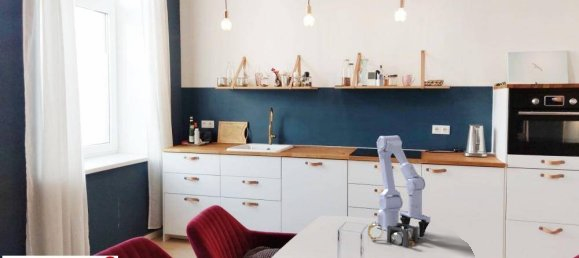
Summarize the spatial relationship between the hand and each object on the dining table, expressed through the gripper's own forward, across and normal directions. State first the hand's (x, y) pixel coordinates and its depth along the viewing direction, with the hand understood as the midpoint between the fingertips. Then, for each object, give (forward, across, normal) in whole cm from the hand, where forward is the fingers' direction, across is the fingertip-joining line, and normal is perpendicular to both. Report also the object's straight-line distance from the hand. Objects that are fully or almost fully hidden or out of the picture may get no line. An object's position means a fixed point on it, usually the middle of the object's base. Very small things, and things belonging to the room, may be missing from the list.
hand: (414, 234), depth 210 cm
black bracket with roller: (+2, 0, +9) cm, 9 cm away
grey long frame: (+2, 0, +5) cm, 6 cm away
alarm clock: (+2, +10, +14) cm, 18 cm away
